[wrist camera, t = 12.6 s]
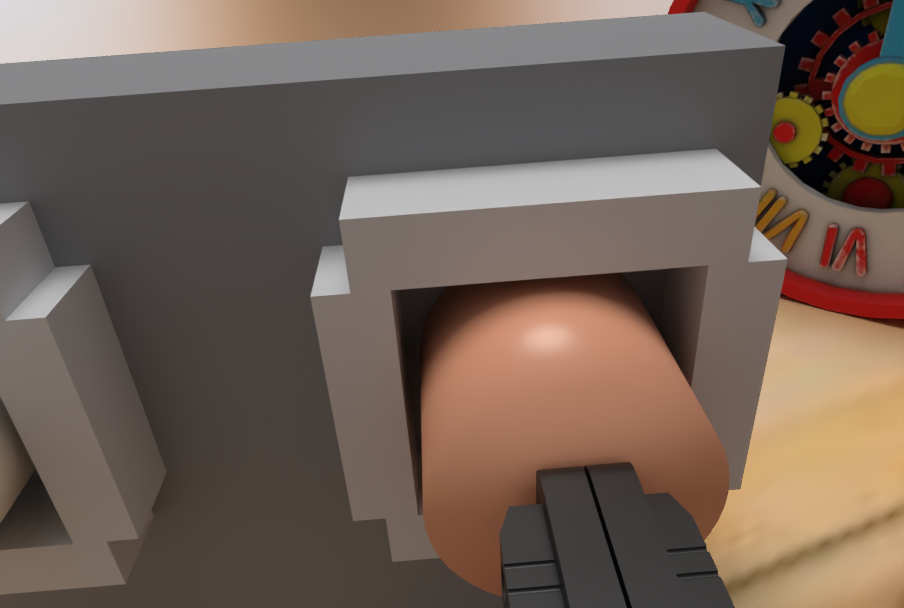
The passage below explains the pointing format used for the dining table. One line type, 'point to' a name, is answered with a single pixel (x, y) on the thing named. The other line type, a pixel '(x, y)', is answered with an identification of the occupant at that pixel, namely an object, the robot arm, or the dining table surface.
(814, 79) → the toy clock
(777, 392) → the dining table surface
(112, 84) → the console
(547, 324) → the terracotta button
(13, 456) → the cream button
